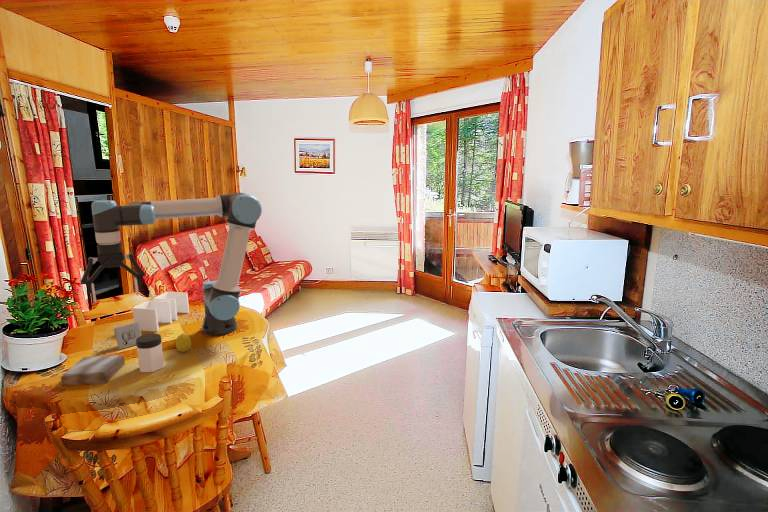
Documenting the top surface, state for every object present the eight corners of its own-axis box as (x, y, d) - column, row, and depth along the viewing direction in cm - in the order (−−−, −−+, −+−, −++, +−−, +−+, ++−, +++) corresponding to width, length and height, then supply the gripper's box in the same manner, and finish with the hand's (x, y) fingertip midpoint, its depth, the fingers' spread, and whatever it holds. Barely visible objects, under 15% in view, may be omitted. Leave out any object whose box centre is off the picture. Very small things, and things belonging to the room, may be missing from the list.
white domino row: (169, 311, 212) (167, 291, 210) (189, 313, 211) (187, 292, 208) (135, 330, 188) (132, 307, 185) (157, 332, 186) (154, 309, 184)
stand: (124, 364, 156) (123, 354, 155) (107, 382, 142) (105, 372, 142) (84, 366, 154) (82, 356, 153) (62, 385, 140) (60, 375, 139)
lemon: (174, 351, 167) (172, 333, 165) (188, 347, 171) (187, 329, 169) (179, 356, 163) (177, 337, 161) (193, 352, 167) (192, 333, 165)
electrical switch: (119, 350, 167) (115, 328, 166) (114, 348, 170) (110, 326, 169) (143, 343, 174) (140, 322, 173) (138, 341, 178) (135, 320, 176)
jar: (156, 360, 160) (152, 331, 157) (169, 364, 156) (166, 335, 153) (133, 369, 152) (129, 339, 149) (147, 375, 148) (143, 344, 146)
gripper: (146, 237, 161) (152, 289, 165) (66, 244, 146) (75, 301, 151) (149, 240, 155) (155, 294, 159) (66, 248, 140) (76, 306, 145)
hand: (116, 297), depth 155 cm, fingers open, 13 cm apart
